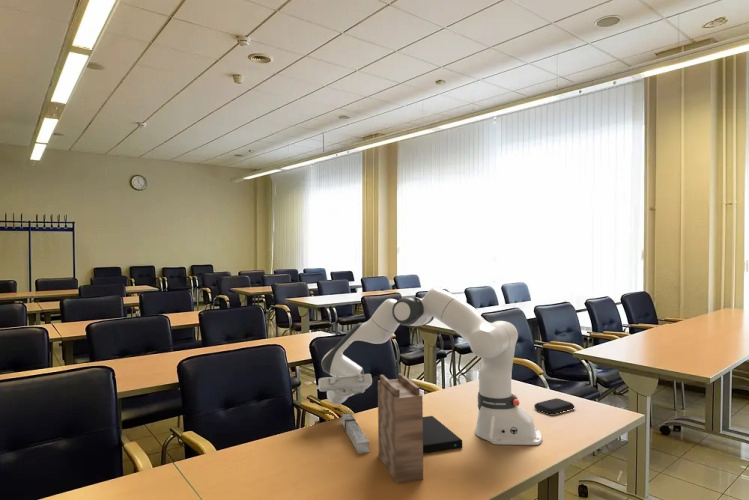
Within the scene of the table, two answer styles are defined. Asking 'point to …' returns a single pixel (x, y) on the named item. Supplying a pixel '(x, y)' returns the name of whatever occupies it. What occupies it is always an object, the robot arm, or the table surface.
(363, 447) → the bar
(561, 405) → the black microchip
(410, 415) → the block
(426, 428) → the external hard drive
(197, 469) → the table surface
